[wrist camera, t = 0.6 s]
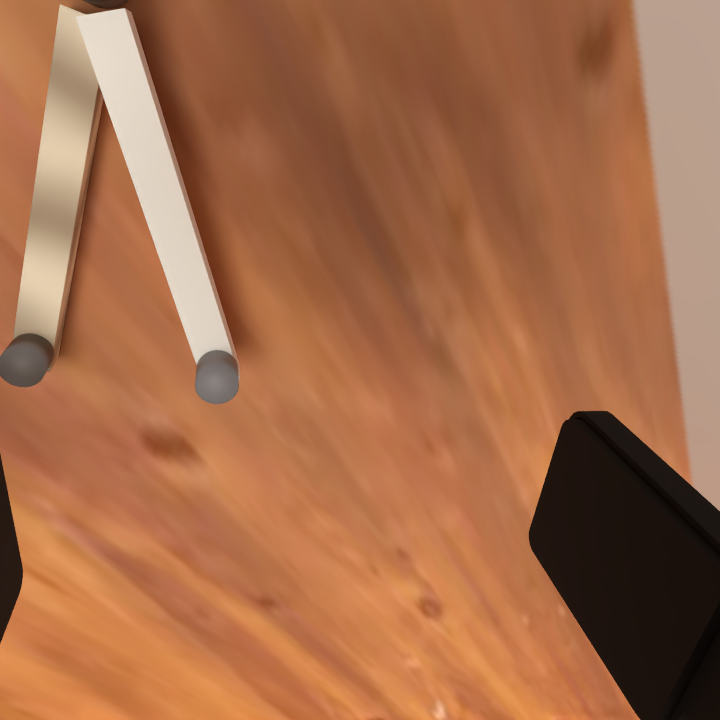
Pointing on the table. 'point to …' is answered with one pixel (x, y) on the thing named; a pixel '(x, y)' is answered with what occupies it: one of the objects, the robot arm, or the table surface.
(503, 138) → the table surface
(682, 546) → the robot arm
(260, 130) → the table surface
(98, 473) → the table surface
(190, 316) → the tongs moving jaw
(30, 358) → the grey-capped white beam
